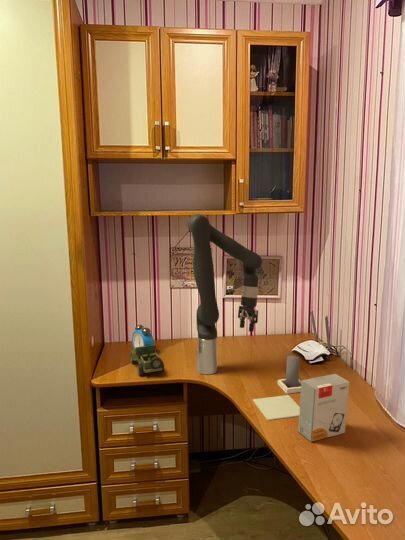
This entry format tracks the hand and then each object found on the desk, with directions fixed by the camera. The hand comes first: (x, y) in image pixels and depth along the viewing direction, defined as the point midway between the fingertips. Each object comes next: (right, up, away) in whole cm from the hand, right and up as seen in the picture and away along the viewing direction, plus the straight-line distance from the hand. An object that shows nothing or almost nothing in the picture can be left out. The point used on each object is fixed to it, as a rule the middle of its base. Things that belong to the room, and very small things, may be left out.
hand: (246, 329), depth 199 cm
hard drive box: (+22, -30, -48) cm, 61 cm away
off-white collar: (+19, -24, -14) cm, 33 cm away
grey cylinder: (+19, -24, -14) cm, 33 cm away
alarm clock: (-53, -17, +26) cm, 61 cm away
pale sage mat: (+10, -27, -31) cm, 42 cm away
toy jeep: (-48, -20, +7) cm, 53 cm away
